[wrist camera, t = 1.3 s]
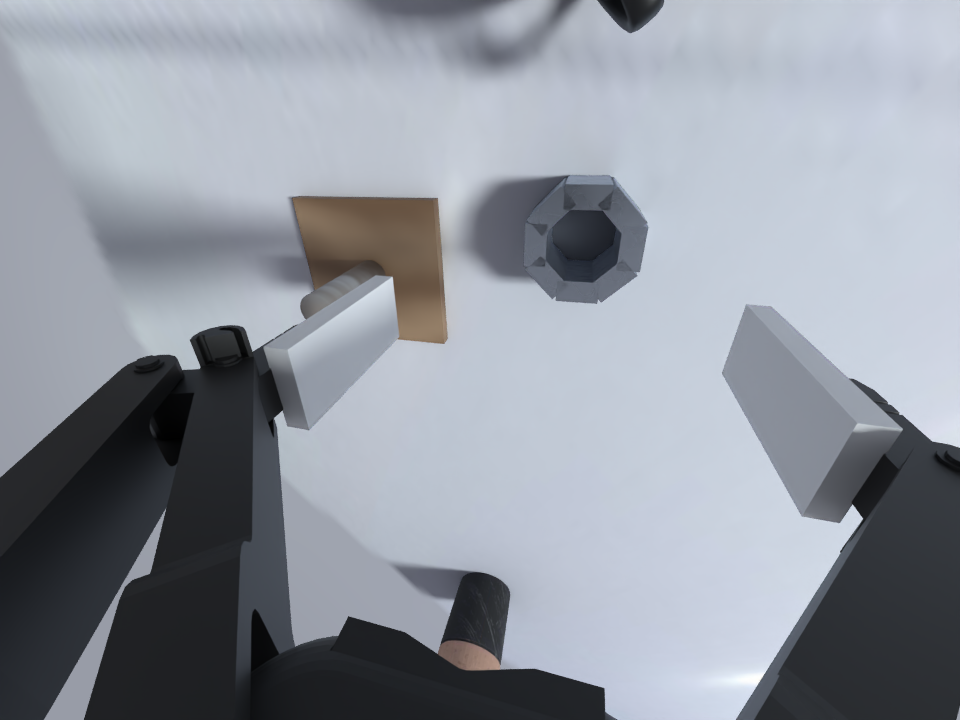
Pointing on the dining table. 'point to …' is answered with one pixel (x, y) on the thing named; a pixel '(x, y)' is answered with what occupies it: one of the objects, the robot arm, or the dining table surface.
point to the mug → (632, 12)
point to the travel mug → (477, 624)
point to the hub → (585, 276)
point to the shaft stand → (377, 256)
